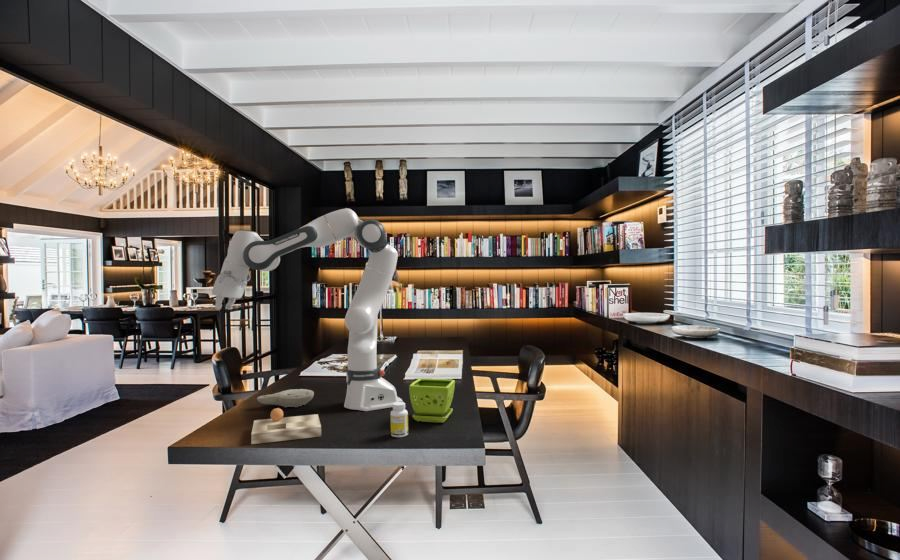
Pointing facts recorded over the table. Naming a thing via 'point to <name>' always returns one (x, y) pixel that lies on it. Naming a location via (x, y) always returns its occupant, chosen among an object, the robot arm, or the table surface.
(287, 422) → the hole board
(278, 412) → the ball
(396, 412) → the supplement bottle
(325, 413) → the table surface
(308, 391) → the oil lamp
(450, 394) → the flower pot
